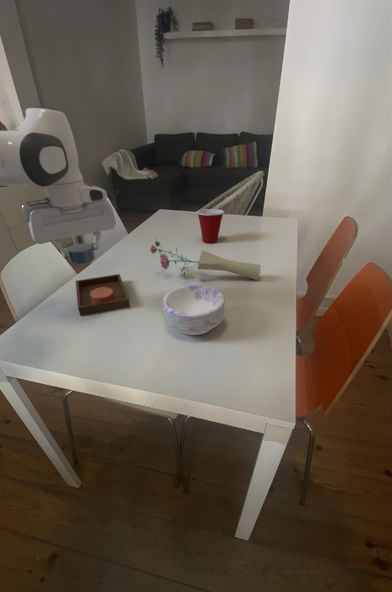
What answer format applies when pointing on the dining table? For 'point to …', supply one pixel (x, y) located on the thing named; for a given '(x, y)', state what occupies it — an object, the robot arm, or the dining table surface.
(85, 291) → the tray
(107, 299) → the orange short cylinder
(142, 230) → the dining table surface
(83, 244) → the blue short cylinder
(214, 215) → the plastic cup
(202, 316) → the paper bowls
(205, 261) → the flower vase
